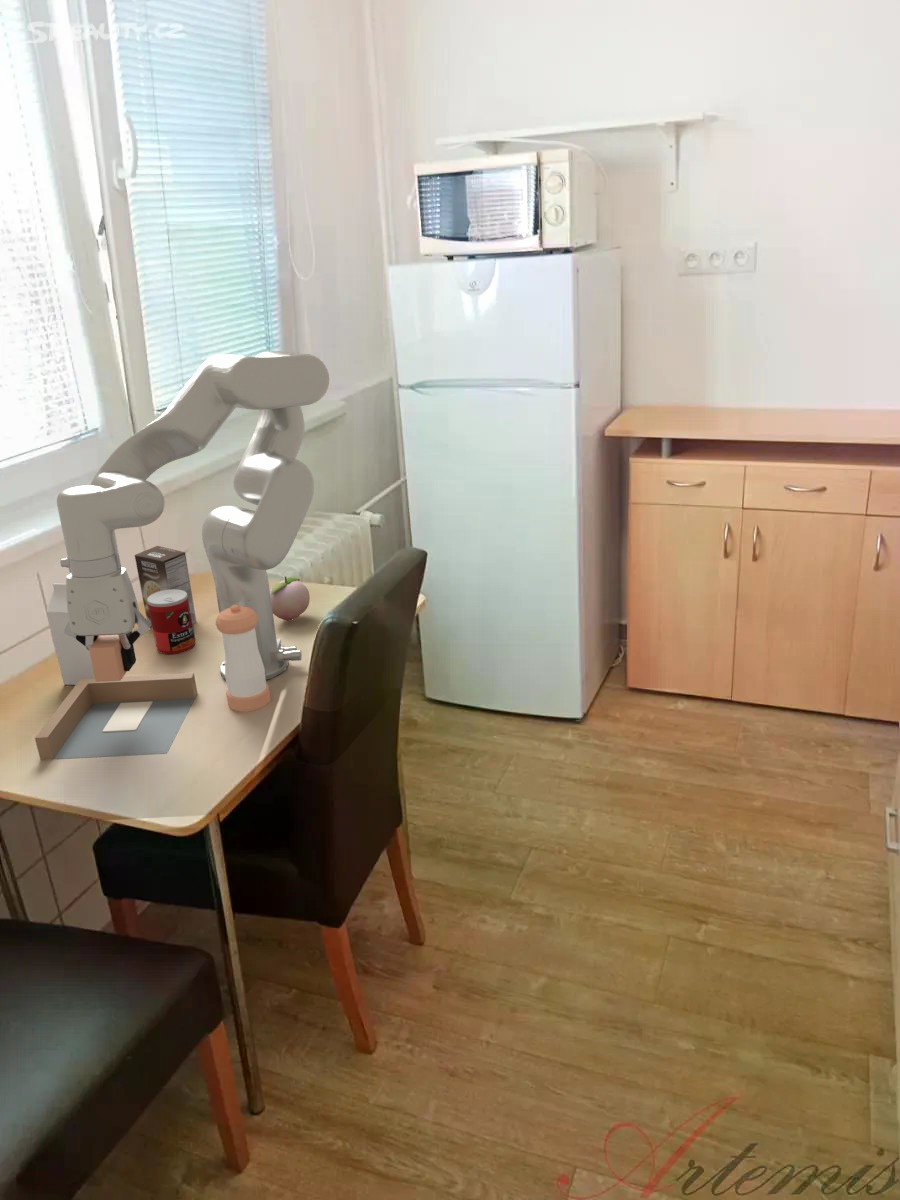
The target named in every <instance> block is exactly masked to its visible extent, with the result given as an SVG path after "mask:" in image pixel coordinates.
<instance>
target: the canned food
mask: <svg viewBox="0 0 900 1200" xmlns="http://www.w3.org/2000/svg"><path fill="white" fill-rule="evenodd" d="M147 601H148V602H147V603H148V609H149V614H150V619H151V624H152V626H151V628H152V633H153V638H154V643H155V647H156V649H157V651H158V652H159V653H160V654H164V655H177V654H178V655H179V654H183V653H185V652H188V651H190V650H191V649H193V648H194V646H195V644H196V638H195V637H196V636H195V632H194V631H195V630H194V626H193V625H194V624H192V618H191V612H190V606H189V601H188V596H187V593H186V592H185V591H183V590H177V589H170V590H163V591H159V592H156V593H154V594H152V595H150V596H149V597H148V598H147Z"/></svg>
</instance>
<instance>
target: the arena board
mask: <svg viewBox="0 0 900 1200" xmlns="http://www.w3.org/2000/svg"><path fill="white" fill-rule="evenodd" d="M197 689H198V688H197V682H196V677H195V672H184V673H167V674H166V673H164V674H148V675H146V674H145V675H144V674H143V675H128V676H127V675H126V676H125V675H124V676H123V678H122V679H121V681H106V682H96V681H95V678H87V679H80V680H79V682H78V683H77V684H76V685H74V687H73V688H72V689H71V691H70V692H69V693H68V694H67V696H66V697H65V698H64V699H63V701H62V702H61V703H60V705H59V706H58V708H56V710H55V711H54V712H53V714H52V715H51V717H50V718H49V719H48V720H47V721H46V723H45V724H44V725H43V727H42V728H41V729H40V730H39V732H38V733H37V734H36V735H35V736H34V739H35V744H36V748H37V752H38V756H39V760H40V761H48V760H53V761H54V760H66V759H67V760H70V759H88V758H108V757H125V756H144V755H147V756H148V755H164V754H167V753H169V750H170V749H171V747H172V744H173V742H174V741H175V738H176V737H177V734H178V733H179V730H180V729H181V726H182V724H183V723H184V721H185V719H186V717H187V715H188V713H189V711H190V709H191V706H192V705H193V703H194V701H195V699H196V697H197V695H198V690H197Z"/></svg>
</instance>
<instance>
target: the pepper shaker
mask: <svg viewBox="0 0 900 1200" xmlns="http://www.w3.org/2000/svg"><path fill="white" fill-rule="evenodd" d="M257 623H258V616H257V614H256V612H255V611H254V610H253V609H251V608H249V607H243V606H239V605H233V606H231V608H228V609H226V610H224V611H222V612H220V613H219V612H218V614H217V616H216V619H215V626H216V629H217V630H218V632H219V633H221V634H222V642H223V649H224V661H225V677H226V679H225V680H226V686H227V690H226V702H227V706H228V708H229V709H231V710H232V711H236V712H252V711H256V710H259V709H261V708H264V707H265V706H266V705H268V704H269V702H270V701H271V692H270V686H269V684H268V683H267V680H266V678H265V669H264V665H263V662H262V659H261V656H260V653H259V650H258V645H257V639H256V632H255V627H256V626H257Z"/></svg>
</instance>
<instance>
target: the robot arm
mask: <svg viewBox="0 0 900 1200" xmlns="http://www.w3.org/2000/svg"><path fill="white" fill-rule="evenodd" d="M329 385H330V375H329V371H328V368H327V366H326V365H325V363H324V362H323V361H322V360H321V359H320V358H319V357H317V356H315V355H312V354H308V353H299V352H288V351H277V350H270V351H263V352H261V353H258V354H257V355H256V356H249V355H248V356H246V355H237V354H236V355H235V354H227V353H224V354H223V353H221V354H220V353H219V354H215V355H212V356H210V357H208V358H207V359H206V360H205V361H204V362H203V363H202V364H201V365H200V366H199V368H198V369H197V370H196V371H195V372H194V374H192V377H191V378H189V380H188V381H187V382H186V384H185V385H184V386H183V388H182V389H181V390H180V391H179V393H178V394H177V396H176V397H174V399H173V400H172V402H170V404H169V405H168V406H167V408H166V409H165V410H164V411H163V413H162V414H161V415H160V416H159V417H158V418H156V419H155V420H153V421H151V422H150V423H148V424H147V425H145V426H144V427H142V428H140V430H138V431H137V432H136V433H134V434H133V435H132V436H130V437H128V438H127V439H126V440H125V441H123V442H122V443H121V444H120V445H118V447H117V448H116V449H115V450H113V452H112V453H111V455H110V456H108V458H107V459H106V461H105V462H104V463H103V464H102V465H101V467H100V468H99V469H98V470H97V472H96V473H95V475H94V477H93V478H92V481H91V483H90V485H89V484H87V485H77V486H73V487H69V488H68V487H67V488H66V489H63V490H61V491H60V492H59V494H58V495H57V498H56V507H57V512H58V516H59V521H60V526H61V532H62V534H63V541H64V545H65V550H66V555H67V556H66V558H60V567H61V568H67V569H68V571H69V574H67V575H66V579H65V584H66V597H67V609H68V617H69V621H68V623H67V625H66V628H65V630H64V633H65V634H67V635H69V636H71V637H73V638H76V640H77V641H79V642H80V643H81V644H83V645H84V646H86V649H87V650H88V651H89V647H90V646H91V645H92V644H93V643H94V641H95V640H96V639H97V638H98V637H99V635H118V636H119V638H120V640H121V643H122V647H123V648H122V649H121V655H122V660H123V665H124V670H125V671H127V672H130V671H131V669H132V668H133V667H134V665H135V664H136V660H137V658H136V653H135V652H136V651H135V647H134V643H135V642H136V641H137V640H138V639H139V638H140V637H141V636H143V635H144V634H146V633H147V632H149V630H150V629H151V628H152V626H151V624H150V623H149V622H148V621H147V618H146V616H144V615H143V614H142V613H141V612H140V610H139V605H138V601H137V597H136V593H135V590H134V587H133V584H132V582H131V579H130V577H129V574H128V572H127V570H126V568H125V567H122V565H121V558H120V555H119V554H120V553H119V548H118V542H117V537H116V531H115V530H119V529H127V528H128V529H129V528H140V527H144V526H147V525H149V524H152V523H154V522H156V521H157V520H158V519H159V518H160V517H161V516H162V514H163V513H164V510H165V503H166V501H165V497H164V493H162V490H161V489H160V488H159V487H158V486H157V485H156V484H154V483H152V482H151V481H148V478H150V476H151V475H152V474H153V473H155V472H156V471H158V470H159V469H161V468H162V467H163V466H166V465H167V464H169V463H171V462H174V461H176V460H180V459H183V458H187V457H191V456H193V455H194V454H198V453H200V452H201V451H203V450H204V449H205V448H206V447H207V446H208V445H209V443H210V442H211V440H212V439H213V438H214V437H215V435H216V434H217V432H218V431H219V430H220V429H221V427H222V426H223V424H225V422H226V421H227V420H228V418H229V417H230V416H231V414H232V413H233V412H234V410H236V408H237V409H238V408H239V409H245V410H253V411H254V410H255V411H257V410H258V419H257V423H256V427H255V429H254V432H253V435H252V437H250V441H249V443H248V444H247V447H246V448H245V451H244V453H243V455H242V458H241V460H240V462H239V464H238V466H237V468H236V471H235V474H234V475H233V476H234V477H233V489H234V491H235V493H236V494H237V495H236V496H238V497H239V498H240V499H242V500H243V501H245V502H248V503H250V504H253V505H256V506H257V507H256V509H255V510H251V509H249V508H244V507H243V506H242V507H241V506H237V505H223V506H219V507H217V508H215V509H213V510H211V511H210V512H209V513H208V514H207V516H206V517H205V519H204V520H203V523H202V529H201V539H202V544H203V548H204V551H205V554H206V556H207V559H208V562H209V565H210V568H211V572H212V577H213V582H214V588H215V594H216V600H217V605H218V606H217V607H218V614H219V613H220V612H222V611H224V610H226V609H228V608H231V606H233V605H239V606H243V607H249V608H251V609H253V610H254V611H255V612H256V614H257V616H258V623H257V626H256V627H255V632H256V639H257V645H258V650H259V653H260V656H261V659H262V662H263V665H264V669H265V678H266V681H268V680H270V679H273V678H276V677H278V676H279V675H281V674H282V673H283V672H284V671H285V670H286V669H287V668H288V665H289V661H291V662H293V661H294V662H295V661H302V650H301V649H299V650H297V646H296V645H295V646H285V645H282V642H281V641H282V640H281V639H280V638H277V634H276V626H275V621H274V614H273V611H272V604H271V597H270V590H271V589H270V582H269V577H268V572H267V571H268V570H272V569H274V568H276V567H277V566H279V565H280V564H281V563H282V562H283V561H284V559H286V558H287V555H288V554H289V552H290V550H291V548H292V546H293V543H294V541H295V539H296V537H297V535H298V533H299V531H300V528H301V526H302V525H303V524H302V523H303V522H304V520H305V517H306V515H307V514H308V510H309V509H310V506H311V504H312V501H313V498H314V492H315V486H314V485H315V482H314V481H315V480H314V477H313V474H312V472H311V470H310V468H309V467H308V466H307V465H306V464H305V463H304V462H302V461H300V460H298V459H297V456H298V454H299V450H300V447H301V445H302V444H303V440H304V436H305V420H304V413H303V409H302V406H310V405H313V404H315V403H317V402H319V401H320V400H321V399H322V398H323V397H324V396H325V395H326V393H327V391H328V389H329ZM135 625H137V626H138V627H137V628H135ZM286 667H287V668H286ZM219 672H220V676H221V677H222V678H223V679H224V680H226V677H225V660H223V661H222V662H221V664H220V666H219Z"/></svg>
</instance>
